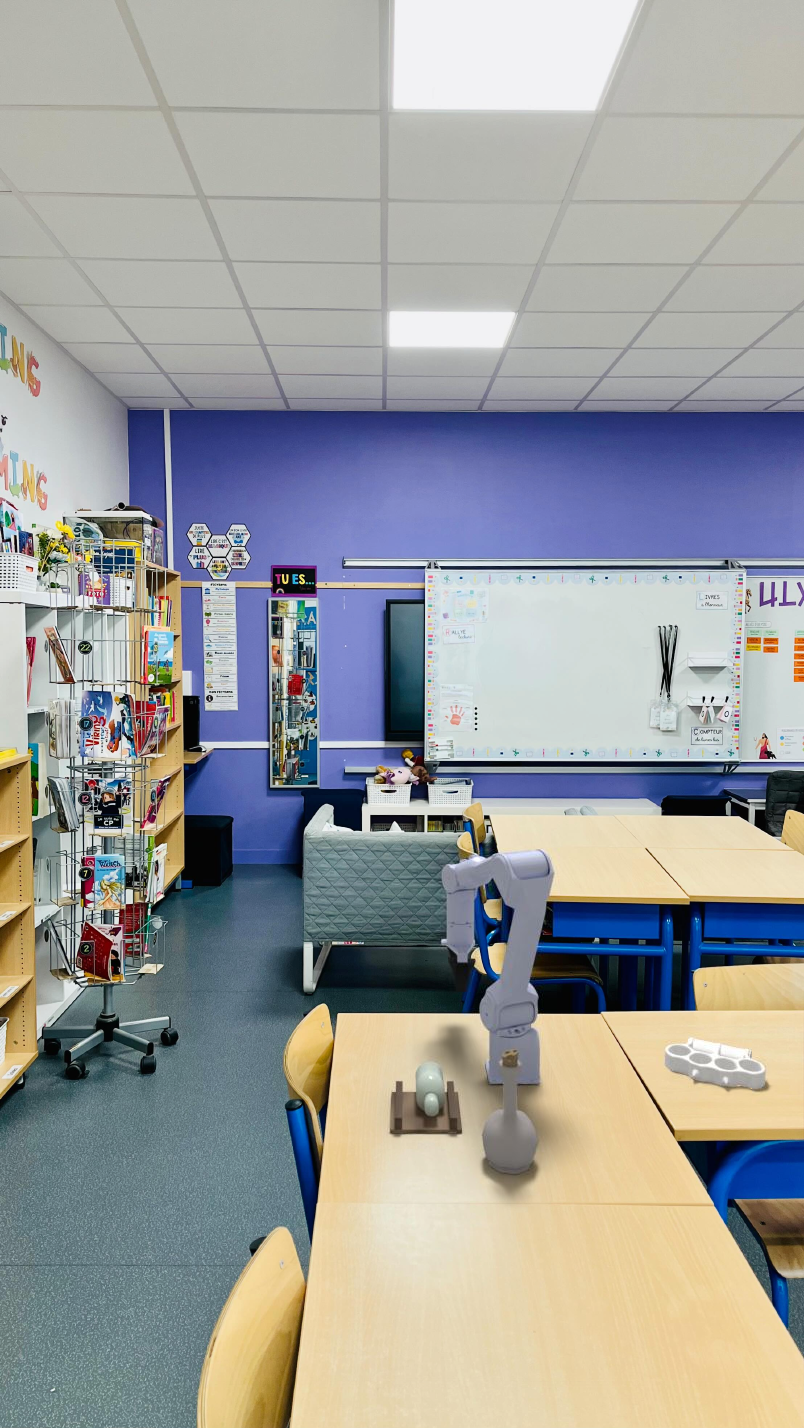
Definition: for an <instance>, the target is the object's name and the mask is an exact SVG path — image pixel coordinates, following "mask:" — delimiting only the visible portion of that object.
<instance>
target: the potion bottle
mask: <svg viewBox="0 0 804 1428" xmlns="http://www.w3.org/2000/svg"><path fill="white" fill-rule="evenodd" d="M518 1052H519V1050H517V1049H510V1050H507V1051H505V1052H504V1053H502V1059H501V1060H500V1061H498V1062H499V1070H500V1074H501V1076H502V1077H503V1084H502V1085H503V1089H502V1093H503V1094H502V1100H503V1101H502V1102H503V1103H502V1108H501V1109H500V1108H499V1109H496V1111H494V1112H493V1113H491V1114H490V1116H489V1117H488V1118H487V1120H485V1121H486V1122H484V1126H483V1129H482V1134H481V1136H482V1137H481V1138H482V1146H483V1150H484V1154H485V1158H486V1159H487V1160H488V1165H489V1166H490V1167H491V1168H493V1169H494V1170H495V1171H496V1172H498V1173H500V1174H506V1175H507V1174H508V1175H519V1174H522V1173H524V1171H525V1172H527V1171H529V1169H530V1168H531V1164H532V1163H533V1160H534V1158H535V1155H536V1152H537V1148H538V1144H539V1137H538V1135H537V1134H538V1133H537V1129H536V1127H535V1126H534V1124H533V1123H532V1120H531V1119H530V1118H529V1117H528V1115H527V1114H526V1113H525V1112H524V1111H521V1110H518V1084H517V1078H518V1077H519V1075H520V1073H521V1070H522V1063H521V1062H520V1061H519V1060H518ZM521 1172H522V1173H521Z"/></svg>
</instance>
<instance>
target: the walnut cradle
mask: <svg viewBox="0 0 804 1428" xmlns="http://www.w3.org/2000/svg"><path fill="white" fill-rule="evenodd" d="M403 1086H404V1085H403V1080H395V1091H391V1099H390V1101H391V1102H390V1121H389V1122H390V1124H389V1125H390V1126H389V1127H390V1129H389V1134H435V1133H434V1132H456V1133H455V1134H463V1127H462V1126H463V1125H462V1117H461V1116H462V1115H461V1108H460V1100H459V1091H455V1084H454V1080H453V1081H452V1080H447V1081H446V1091H445V1103H444V1105H443V1107H442V1108H441V1109H440V1110H439V1112H438V1113H437V1115H435V1116H428V1115H427V1114H426V1113H425V1111H424V1110H422V1109H421V1108H420V1107H419V1106H418V1104H417V1099H416V1091H403Z"/></svg>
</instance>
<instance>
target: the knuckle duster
mask: <svg viewBox="0 0 804 1428" xmlns="http://www.w3.org/2000/svg"><path fill="white" fill-rule="evenodd" d="M752 1052H753V1051H752V1050H750V1049H749V1048H739V1047H735V1046H731V1045H726V1044H723V1043H720V1042H717V1043H716V1042H712V1041H707V1040H703V1039H697V1038H695V1037H692V1036H691V1037H689V1038H688V1039H687V1042H686V1043H674V1044H669V1045H667V1046H666V1047H665V1048H664V1066H665V1068H666V1069H668V1070H670V1071H671V1072H674V1071H675V1072H674V1073H680V1074H683V1075H686V1076H687V1077H689V1078H690V1079H693V1080H696V1081H699V1082H700V1083H701V1082H704V1083H710V1084H714V1085H717V1086H719V1087H726V1086H729V1087H728V1088H732V1086H734V1087H738V1086H737V1085H741V1086H745V1087H744V1088H746V1087H749V1088H752V1089H751V1090H759V1089H758V1088H760V1089H763V1088H764V1087H765V1086H766V1073H767V1071H766V1070H767V1069H766V1067H765V1065H763V1063H761V1062H760V1061H758V1060H755V1059H753V1058H752V1055H753V1054H752ZM764 1085H765V1086H764ZM762 1087H763V1088H762ZM749 1088H748V1089H749Z"/></svg>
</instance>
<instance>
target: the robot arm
mask: <svg viewBox="0 0 804 1428" xmlns="http://www.w3.org/2000/svg"><path fill="white" fill-rule="evenodd" d="M554 877H555V870H554V867H553V863H552V859H551V858H550V856H549V855H548V853H547V851H545V850H544V849H542V848H538V849H535V850H531V849H529V850H517V851H507V852H497V853H494V854H492V855H491V856H488V857H484V856H480V855H479V854H478V853H477V854H470V855H469V859H460V860H459V863H456V864H455V863H454V864H449V863H447V864H445V865H444V866H443V867H442V870H441V882H442V886H443V888H444V890H445V891H446V938H442V939H441V941H440V943H441V946H446V949H447V950H448V953H449V955H450V956H447V962H448V965H449V967H450V969H451V971H452V974H453V975H452V976H453V980H454V986H455V990H456V992H467V990H468V986H469V982H470V978H471V977H470V976H471V974H472V971H473V968H474V967H475V965H476V958H468V957H469V954H470V952H471V951H472V949H473V948H474V947H475V945H476V940H475V899H476V898H477V896H478V889H479V887H481V886H484V885H486V884H487V885H488V884H489V883H490V882H491V880H492V879H493V882H494V883H495V885H496V887H497V889H498V891H499V893H500V896H501V898H502V899H503V903H504V904H505V906H508V907H510V908H512V909H514V912H513V915H512V920H511V926H510V931H509V933H508V939H507V943H506V947H505V953H504V958H503V961H502V966H501V971H500V976H499V978H498V979H497V980H496V981H495V982H493V983H492V984H491V985H490V986H489V987H487V989H485V994H484V996H483V998H482V999H481V1001H480V1003H479V1017H480V1021H481V1022H482V1025H483V1026H484V1028H485V1029H486V1030H487V1031H488V1032H489V1036H488V1037H489V1038H488V1039H489V1041H488V1042H489V1045H488V1046H489V1049H488V1050H489V1051H488V1053H489V1054H488V1056H489V1057H488V1058H489V1059H488V1060H486V1061H485V1070H486V1074H487V1080H488V1083H489V1084H490V1085H503V1077H502V1076H501V1074H500V1070H499V1062H498V1061H500V1060H501V1059H502V1053H504V1052H505V1051H507V1050H510V1049H517V1050H519V1052H518V1060H519V1061H520V1062H521V1063H522V1070H521V1073H520V1075H519V1077H518V1078H517V1085H540V1084H541V1079H540V1077H541V1076H540V1074H541V1072H540V1070H541V1068H540V1065H541V1060H540V1059H541V1054H540V1053H541V1045H540V1035H539V1031H538V1028H536V1027H532V1024H534V1023H535V1022H536V1021H537V1017H538V1014H539V1013H538V1012H539V1009H538V1000H539V995H538V993H537V991H536V989H535V987H534V986H533V984H532V983H530V980H531V976H532V970H533V968H534V967H533V966H534V963H535V959H536V958H535V957H536V954H537V950H538V946H539V941H540V937H541V933H542V928H543V924H544V920H545V916H546V911H547V901H548V900H549V898H550V894H551V890H552V886H553V882H554Z"/></svg>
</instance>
